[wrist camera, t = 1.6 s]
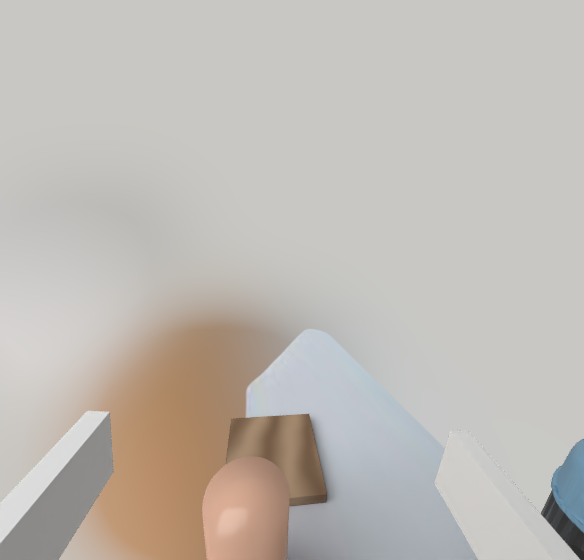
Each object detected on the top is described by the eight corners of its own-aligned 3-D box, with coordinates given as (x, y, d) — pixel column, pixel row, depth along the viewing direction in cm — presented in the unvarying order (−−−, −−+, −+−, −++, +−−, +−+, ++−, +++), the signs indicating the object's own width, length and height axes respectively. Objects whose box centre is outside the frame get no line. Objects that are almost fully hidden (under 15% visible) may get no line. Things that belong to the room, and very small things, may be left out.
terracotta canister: (281, 560, 31) (285, 453, 26) (287, 661, 24) (294, 542, 19) (218, 568, 30) (210, 459, 25) (207, 675, 23) (192, 554, 18)
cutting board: (308, 420, 50) (309, 413, 49) (326, 502, 37) (327, 494, 36) (231, 425, 48) (231, 418, 48) (220, 513, 35) (220, 504, 35)
